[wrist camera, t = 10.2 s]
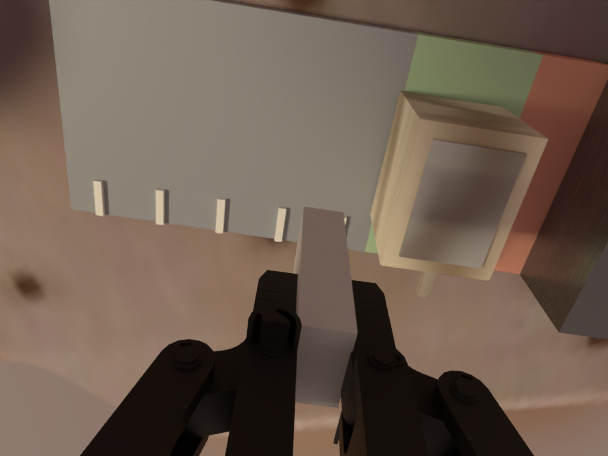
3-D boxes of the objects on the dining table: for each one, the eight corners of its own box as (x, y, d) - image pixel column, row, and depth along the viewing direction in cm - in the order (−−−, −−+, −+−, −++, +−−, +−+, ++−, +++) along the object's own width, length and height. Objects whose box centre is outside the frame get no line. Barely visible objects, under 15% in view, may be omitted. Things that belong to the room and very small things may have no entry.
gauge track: (85, 196, 33) (69, 211, 31) (64, -27, 26) (42, -27, 24) (509, 258, 34) (521, 276, 32) (594, 60, 27) (616, 67, 25)
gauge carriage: (363, 240, 31) (372, 297, 25) (400, 90, 26) (421, 120, 21) (450, 253, 31) (478, 311, 26) (502, 106, 26) (550, 140, 21)
